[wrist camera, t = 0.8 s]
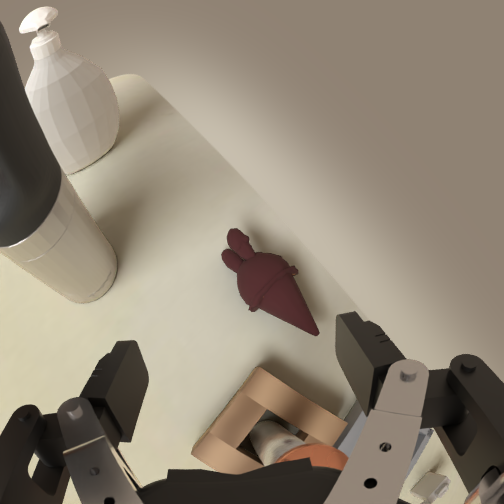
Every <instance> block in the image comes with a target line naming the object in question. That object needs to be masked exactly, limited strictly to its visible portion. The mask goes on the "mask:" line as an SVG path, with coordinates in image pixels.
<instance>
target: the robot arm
mask: <svg viewBox="0 0 504 504" xmlns="http://www.w3.org/2000/svg"><path fill="white" fill-rule="evenodd" d="M0 253H2V254H3V255H4V256H6V257H7V258H9V259H10V260H11V261H13V262H14V263H15V264H17V265H18V266H20V267H21V268H22V269H24V270H25V271H27V272H28V273H29V274H31V275H32V276H34V277H35V278H37V279H38V280H40V281H41V282H43V283H44V284H46V285H47V286H49V287H50V288H52V289H53V290H55V291H56V292H58V293H59V294H61V295H62V296H64V297H66V298H67V299H69V300H71V301H73V302H76V303H89V302H92V301H95V300H97V299H98V298H100V297H102V296H103V295H104V294H105V293H106V292H107V291H108V289H109V288H110V287H111V285H112V283H113V281H114V279H115V276H116V272H117V258H116V254H115V252H114V249H113V248H112V247H111V245H110V244H109V242H108V241H107V239H106V238H105V236H104V235H103V233H102V231H101V230H100V228H99V227H98V225H97V224H96V222H95V221H94V219H93V218H92V216H91V215H90V213H89V212H88V210H87V209H86V207H85V205H84V204H83V202H82V201H81V199H80V197H79V196H78V194H77V193H76V191H75V189H74V188H73V186H72V184H71V183H70V181H69V180H68V178H67V176H66V175H65V173H64V171H63V169H62V168H61V166H60V164H59V163H58V161H57V159H56V157H55V156H54V154H53V152H52V150H51V148H50V146H49V144H48V141H47V139H46V137H45V135H44V133H43V131H42V128H41V126H40V124H39V122H38V120H37V118H36V116H35V114H34V111H33V109H32V107H31V104H30V102H29V99H28V97H27V94H26V92H25V89H24V86H23V83H22V80H21V77H20V74H19V71H18V68H17V64H16V61H15V57H14V54H13V51H12V48H11V45H10V42H9V39H8V37H7V34H6V32H5V30H4V27H3V25H2V23H1V22H0ZM335 347H336V356H337V359H338V362H339V364H340V366H341V368H342V370H343V372H344V374H345V376H346V378H347V380H348V382H349V384H350V386H351V388H352V390H353V392H354V394H355V396H356V398H357V400H358V402H359V404H360V406H361V408H362V410H363V412H364V414H365V416H366V417H368V418H367V420H366V423H365V425H364V427H363V429H362V432H361V434H360V436H359V438H358V440H357V442H356V445H355V447H354V449H353V451H352V453H351V455H350V457H349V459H348V461H347V463H346V465H345V467H344V469H343V471H342V470H339V469H335V468H330V467H323V466H312V464H311V460H310V457H308V458H302V459H297V460H291V461H285V462H279V463H273V464H270V465H268V466H265V467H262V468H258V469H255V470H252V471H249V472H246V473H242V474H228V473H221V472H214V471H208V470H203V469H188V470H183V469H168V474H167V479H162V480H158V481H155V482H153V483H150V484H148V485H146V486H144V487H143V486H142V485H141V483H140V482H139V481H138V479H137V477H136V476H135V474H134V473H133V471H132V470H131V468H130V466H129V465H128V463H127V461H126V460H125V458H124V456H123V455H122V453H121V451H120V450H119V448H118V445H119V442H130V443H131V440H132V436H133V433H134V429H135V426H136V423H137V419H138V416H139V413H140V409H141V406H142V403H143V400H144V396H145V393H146V390H147V387H148V383H149V376H148V371H147V368H146V365H145V363H144V360H143V357H142V355H141V352H140V349H139V346H138V344H137V342H136V341H135V340H129V341H117V342H116V344H115V346H114V347H113V349H112V351H111V353H107V354H106V355H105V356H104V357H103V358H102V359H100V360H99V362H98V364H97V365H96V367H95V370H94V371H93V372H92V374H91V377H90V378H89V380H88V381H87V383H86V385H85V387H84V389H83V391H82V392H81V394H80V396H79V397H76V398H72V399H69V400H67V401H65V402H64V403H63V404H62V405H61V406H60V407H59V409H58V411H57V413H52V414H45V415H42V414H41V412H40V410H39V409H38V408H37V407H36V406H35V405H24V406H22V407H20V408H18V409H17V410H16V411H15V412H14V413H13V414H12V416H11V418H10V419H9V421H8V423H7V425H6V426H5V428H4V430H3V432H2V433H1V435H0V504H62V503H63V499H64V496H65V492H66V489H67V485H68V482H69V479H70V476H71V479H72V481H73V484H74V486H75V489H76V491H77V494H78V496H79V498H80V501H81V503H82V504H410V503H408V502H406V501H403V500H401V499H399V495H400V492H401V489H402V487H403V484H404V481H405V478H406V475H407V472H408V469H409V466H410V463H411V459H412V456H413V452H414V449H415V445H416V442H417V438H418V434H419V430H420V429H426V428H434V429H435V431H436V433H437V435H438V437H439V438H440V440H441V442H442V444H443V445H444V447H445V449H446V451H447V453H448V455H449V456H450V458H451V460H452V462H453V464H454V466H455V468H456V470H457V471H458V473H459V475H460V477H461V479H462V481H463V483H464V485H465V487H466V489H467V491H468V493H469V495H468V496H467V498H466V500H465V502H464V504H504V383H503V382H502V381H501V380H500V379H499V378H498V377H497V376H496V374H495V373H494V372H493V371H492V370H491V369H490V368H489V367H488V366H487V365H486V364H485V363H484V362H483V360H481V359H480V358H479V357H477V356H474V355H470V354H462V355H459V356H456V357H455V358H454V359H452V361H451V363H450V366H449V368H448V369H439V370H428V369H427V367H426V366H425V365H424V364H422V363H421V362H419V361H415V360H410V359H406V358H405V357H404V355H403V354H402V353H401V352H400V350H399V349H398V348H397V347H396V346H395V344H394V343H393V342H392V341H390V338H389V337H388V336H387V335H385V332H384V331H383V330H382V329H381V327H380V326H378V325H377V324H375V323H373V322H371V321H366V322H364V321H363V320H362V319H361V318H360V316H359V315H358V314H357V313H356V312H355V311H354V312H349V313H344V314H339V315H337V316H336V346H335ZM33 453H35V454H36V456H37V457H38V458H39V461H38V464H37V466H36V469H35V471H34V474H33V476H32V479H31V478H30V476H29V474H28V465H29V463H30V460H31V458H32V456H33Z"/></svg>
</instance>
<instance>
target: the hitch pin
mask: <svg viewBox="0 0 504 504" xmlns="http://www.w3.org/2000/svg"><path fill="white" fill-rule="evenodd" d="M250 441H251V444H252V445H253V447H254V449H255V451H256V452H257V454H258V456H259V458H260V459H261V461H262V463H263V464H264V466H268V465H270V464H273V463H279V462H285V461H291V460H297V459H302V458H308V457H310V460H311V464H312V466H323V467H330V468H335V469H339V470H342V471H343V469H344V467H345V465H346V463H347V461H348V459H349V458H348V456H347V455H345V454H344V453H343V452H342V451H340V450H338V449H336V448H334V447H332V446H330V445H327V444H322V443H308V444H307V443H305V442H304V441H302V440H301V439H299V438H298V437H296V436H295V435H294V434H292V433H291V432H289V431H288V430H287V429H285V428H284V427H282V426H281V425H280V424H278V423H277V422H274V421H270V420H266V421H262V422H259V423H258V424H256V425H255V426H254V427H253V428H252V430H251V432H250Z"/></svg>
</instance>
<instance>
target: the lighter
mask: <svg viewBox="0 0 504 504" xmlns="http://www.w3.org/2000/svg"><path fill="white" fill-rule="evenodd" d="M450 482H451V481H450V479H449V478H448V477H447V476H444V475H440V474H436V473H433V472H430V471H429V472H428V473H427V474H426V475H425V476H424V477H423V478H422V479H421V480H420V481H419V482H418V483H417V485H416V486H415V487H414V488H413V489H412V490H411V491H410V492H411V493H412V495H413V496H414V497H417V498H419V499H421V500H424V502H422V503H421V504H431V503H433V502H434V501H435V500H436V498H437V497H438V498H441V497H442V496H443V495H444V494H445V493H446V491H447V490H448V486H449V483H450Z"/></svg>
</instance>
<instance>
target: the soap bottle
mask: <svg viewBox="0 0 504 504" xmlns="http://www.w3.org/2000/svg"><path fill="white" fill-rule="evenodd" d="M57 14H58V10H57V9H55V8H53V7H40V8H38V9H35V10H34V11H32V12H31V13H29V15H27V16H26V17H25V19H24V20H23V22H22V23H21V26H20V28H19V31H20V33H27V32H31V31H36V32H37V35H38V36H37V37H36V38H34V39H33V41H32V44H31V45H30V50H31V53H32V56H33V58H34V67H33V70H32V72H31V74H30V77H29V79H28V82H27V84H26V87H25V92H26V94H27V97H28V99H29V102H30V104H31V107H32V109H33V111H34V114H35V116H36V118H37V120H38V122H39V124H40V126H41V128H42V131H43V133H44V135H45V137H46V139H47V141H48V144H49V146H50V148H51V150H52V152H53V154H54V156H55V157H56V159H57V161H58V163H59V164H60V166H61V168H62V169H63V171H64V173H65V174H72V173H75V172H77V171H79V170H81V169H83V168H85V167H87V166H88V165H90V164H92V163H93V162H95V161H96V160H98V159H99V158H101V157H102V156H103V155H104V154H106V153H107V152H108V151H109V150H110V149H111V147H112V146H113V144H114V143H115V140H116V137H117V133H118V130H119V107H118V102H117V97H116V95H115V92H114V90H113V87H112V85H111V83H110V81H109V79H108V78H107V76H106V75H105V73H104V72H103V70H102V68H100V67H99V66H97V65H96V64H94V63H92V62H91V61H89V60H87V59H86V58H84V57H83V56H81V55H78V54H75V53H73V52H70V51H67V50H64V49H63V48H62V46H61V42H60V39H59V35H58V32H54V30H49V31H46V28H48V27H50V22H51V21H52V20H53V19H54V18H55V17H56V16H57Z"/></svg>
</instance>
